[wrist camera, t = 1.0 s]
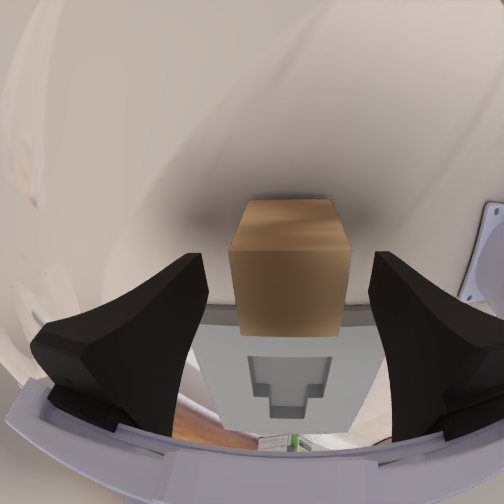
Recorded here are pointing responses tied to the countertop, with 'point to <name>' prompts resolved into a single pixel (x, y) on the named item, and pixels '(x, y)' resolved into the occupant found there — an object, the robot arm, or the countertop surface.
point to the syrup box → (284, 443)
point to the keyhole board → (288, 373)
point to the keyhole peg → (290, 268)
